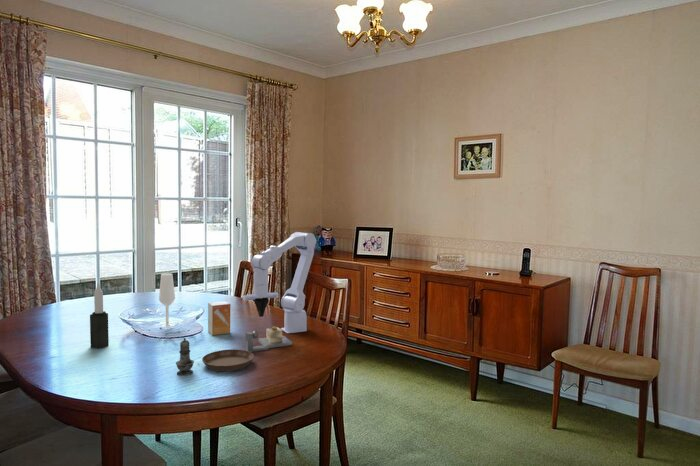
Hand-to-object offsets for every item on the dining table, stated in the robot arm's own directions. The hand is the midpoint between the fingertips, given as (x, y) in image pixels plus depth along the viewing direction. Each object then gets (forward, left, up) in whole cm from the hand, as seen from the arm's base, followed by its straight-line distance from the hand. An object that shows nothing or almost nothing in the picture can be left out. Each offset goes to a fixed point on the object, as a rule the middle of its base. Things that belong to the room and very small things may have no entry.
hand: (261, 316), depth 200 cm
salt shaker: (+35, +26, -10) cm, 44 cm away
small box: (+14, -16, -10) cm, 23 cm away
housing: (-3, +8, -9) cm, 12 cm away
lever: (+7, +9, -6) cm, 13 cm away
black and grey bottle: (+60, -16, -10) cm, 63 cm away
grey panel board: (0, +8, -10) cm, 13 cm away
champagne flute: (+33, -33, -10) cm, 48 cm away
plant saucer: (+20, +24, -10) cm, 32 cm away
